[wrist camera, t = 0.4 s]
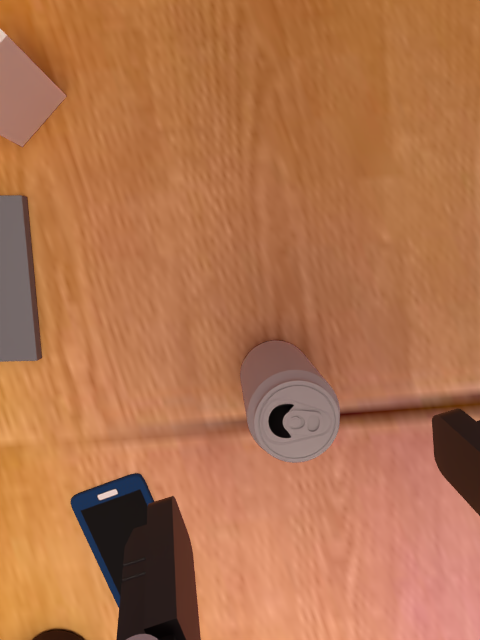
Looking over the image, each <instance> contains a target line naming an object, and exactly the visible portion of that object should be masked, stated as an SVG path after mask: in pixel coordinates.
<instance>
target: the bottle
mask: <svg viewBox="0 0 480 640" xmlns="http://www.w3.org/2000/svg"><path fill="white" fill-rule="evenodd" d="M33 640H83V639H81V638H80V637H78V636H77V635H75V634H73V633H70V632H67V631H49V632H45V633H42V634H41V635H39V636H37V637H36V638H34V639H33Z"/></svg>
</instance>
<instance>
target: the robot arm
mask: <svg viewBox="0 0 480 640" xmlns="http://www.w3.org/2000/svg"><path fill="white" fill-rule="evenodd" d="M432 428H433V443H434V457H435V461H436V464H437V466H438V468H439V470H440V472H441V473H442V475H443V476H444V477H445V478H446V479H447V480H448V482H449V483H450V484H451V485H452V486H453V487H454V488H455V489H456V490H457V491H458V493H459V494H460V495H461V496H462V497H463V498H464V499H465V500H466V501H467V502H468V503H469V505H470V506H471V507H472V508H473V509H474V510H475V511H476V512H477V513H478V514H479V516H480V420H479V421H475V420H474V419H472V418H471V417H470V416H469V415H468V414H466V413H465V412H464V411H462V410H461V409H454V410H451V411H448V412H444V413H441V414H438V415H435V416H433V418H432ZM123 565H124V568H123V573H122V584H121V596H120V607H119V618H118V630H117V640H201V639H200V627H199V616H198V605H197V594H196V582H195V571H194V560H193V552H192V546H191V542H190V538H189V535H188V532H187V529H186V526H185V524H184V521H183V518H182V515H181V513H180V510H179V507H178V504H177V502H176V499H175V497H174V496H172V497H168V498H165V499H162V500H159V501H156V502H152V503H149V504H148V507H147V525H144V526H140V527H137V528H134V529H133V531H132V533H131V535H130V537H129V539H128V541H127V543H126V545H125V550H124V561H123Z"/></svg>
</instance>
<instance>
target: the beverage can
mask: <svg viewBox="0 0 480 640" xmlns="http://www.w3.org/2000/svg"><path fill="white" fill-rule="evenodd" d="M240 379H241V386H242V392H243V398H244V404H245V410H246V416H247V422H248V427H249V430H250V432H251V435H252V437H253V438H254V440H255V441H256V442H257V444H258V445H259V446H260V447H261V448H262V449H264V450H265V451H266V452H268V453H269V454H270V455H272V456H273V457H275V458H277V459H279V460H282V461H286V462H304V461H308V460H311V459H314V458H316V457H318V456H319V455H321V454H322V453H323V452H325V451H326V450H327V449H328V448H329V447H330V445H331V444H332V443H333V441H334V439H335V437H336V435H337V433H338V429H339V421H340V407H339V402H338V399H337V396H336V394H335V392H334V390H333V389H332V387H331V386H330V385H329V384H328V382H327V381H326V380H325V379H324V378H323V376H322V375H321V374H320V373H319V372H318V370H317V369H316V368H315V367H314V366H313V364H312V363H311V362H310V361H309V360H308V358H307V357H306V356H305V355H304V354H303V353H302V351H301V350H300V349H298V348H297V347H296V346H294V345H292V344H290V343H288V342H284V341H278V340H275V341H268V342H264V343H262V344H259V345H258V346H256V347H255V348H253V349H252V350H251V351H250V352H249V353H248V355H247V356H246V358H245V359H244V361H243V364H242V367H241V372H240Z"/></svg>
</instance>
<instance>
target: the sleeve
mask: <svg viewBox="0 0 480 640" xmlns="http://www.w3.org/2000/svg"><path fill="white" fill-rule="evenodd" d="M65 98H66V95H65V94H64V93H63V92H62V91H61V90H60V89H59V88H58V87H57V86H56V85H55V84H54V83H53V82H52V81H51V80H50V79H49V78H48V77H47V76H46V75H45V73H44V72H43V71H42V70H41V69H40V68H39V67H38V66H37V65H36V64H35V63H34V62H33V61H32V60H31V59H30V58H29V57H28V56H27V55H26V54H25V53H24V52H23V51H22V50H21V49H20V48H19V47H18V46H17V45H16V44H15V43H14V42H13V41H12V40H11V39H10V38H9V37H8V36H7V35H6V34H5V33H4V32H3V31H2V30H1V29H0V135H1V136H3V137H5V138H6V139H8V140H10V141H12V142H14V143H16V144H18V145H20V146H21V147H23V146H24V145H25V144H26V142H27V141H28V140H29V139H30V138H31V137H32V136H33V134H34V133H35V132H36V131H37V130H38V129H39V127H40V126H41V125H42V124H43V123H44V122H45V121H46V119H47V118H48V117H49V116H50V115H51V114H52V113H53V111H54V110H55V109H56V108H57V107H58V106H59V105H60V103H61V102H62V101H63V100H64V99H65Z"/></svg>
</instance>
